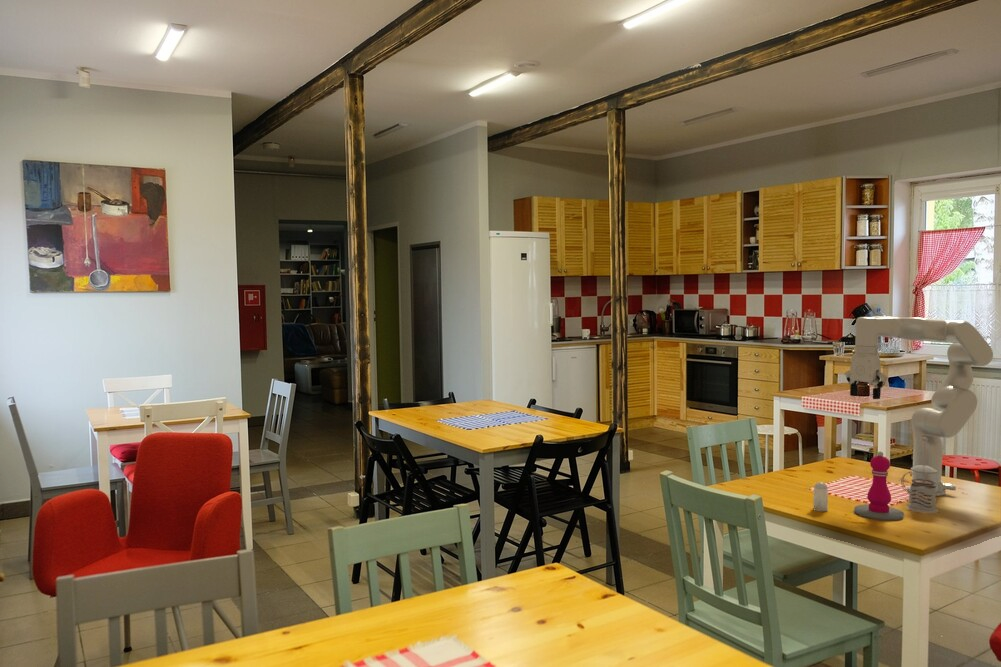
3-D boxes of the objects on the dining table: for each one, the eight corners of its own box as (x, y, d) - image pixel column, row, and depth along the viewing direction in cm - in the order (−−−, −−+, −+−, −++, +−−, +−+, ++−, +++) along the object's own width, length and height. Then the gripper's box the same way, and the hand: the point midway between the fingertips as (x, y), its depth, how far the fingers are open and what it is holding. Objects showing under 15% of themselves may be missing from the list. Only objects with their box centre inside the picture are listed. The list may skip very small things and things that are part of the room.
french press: (934, 514, 258) (937, 441, 256) (897, 508, 266) (899, 436, 264) (941, 509, 265) (944, 437, 264) (905, 502, 273) (907, 433, 272)
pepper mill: (893, 510, 258) (895, 451, 257) (886, 514, 253) (888, 454, 252) (871, 506, 263) (872, 448, 262) (863, 510, 258) (865, 451, 257)
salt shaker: (827, 508, 264) (828, 481, 264) (827, 511, 260) (827, 484, 260) (813, 507, 266) (814, 480, 265) (813, 510, 262) (813, 482, 261)
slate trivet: (902, 511, 262) (902, 507, 262) (904, 522, 248) (905, 519, 248) (854, 505, 268) (854, 502, 268) (853, 516, 254) (854, 513, 254)
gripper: (839, 349, 286) (838, 395, 287) (879, 352, 271) (878, 400, 272) (853, 349, 290) (852, 394, 290) (894, 352, 274) (892, 399, 275)
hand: (864, 397), depth 281 cm, fingers open, 9 cm apart
